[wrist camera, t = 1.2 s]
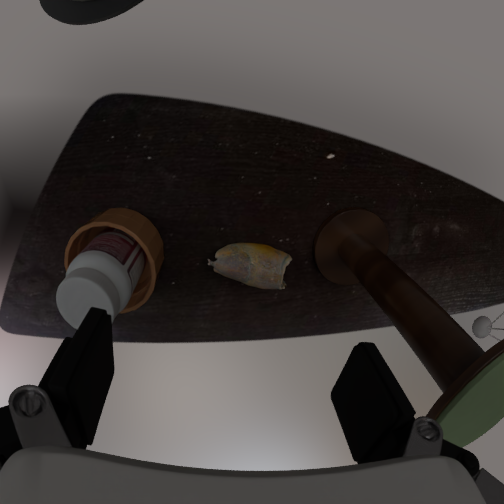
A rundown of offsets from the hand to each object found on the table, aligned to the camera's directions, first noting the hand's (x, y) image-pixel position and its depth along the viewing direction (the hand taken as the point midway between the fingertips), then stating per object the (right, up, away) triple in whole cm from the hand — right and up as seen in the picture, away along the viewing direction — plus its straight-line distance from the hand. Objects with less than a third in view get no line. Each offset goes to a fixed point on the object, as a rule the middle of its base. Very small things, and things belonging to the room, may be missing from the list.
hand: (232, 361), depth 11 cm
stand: (+12, +5, +23) cm, 26 cm away
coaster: (+14, -4, +1) cm, 15 cm away
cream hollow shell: (0, +4, +23) cm, 23 cm away
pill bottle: (-13, +4, +21) cm, 25 cm away
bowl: (-13, +4, +21) cm, 25 cm away
